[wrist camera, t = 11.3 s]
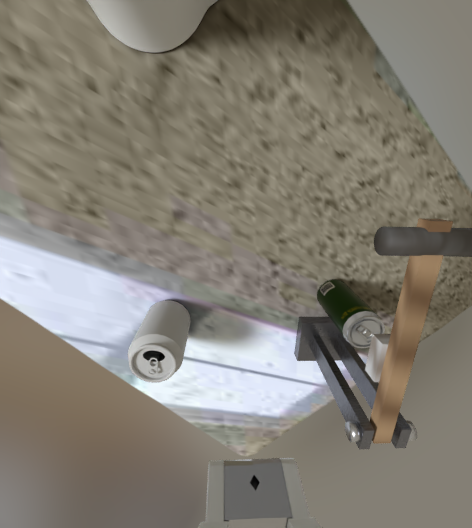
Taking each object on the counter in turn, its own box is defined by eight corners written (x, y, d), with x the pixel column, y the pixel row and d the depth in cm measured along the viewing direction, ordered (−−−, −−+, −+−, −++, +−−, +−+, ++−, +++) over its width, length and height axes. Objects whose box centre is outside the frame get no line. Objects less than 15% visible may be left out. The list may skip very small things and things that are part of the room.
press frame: (299, 316, 47) (349, 414, 28) (353, 316, 48) (437, 412, 29) (294, 353, 50) (337, 464, 31) (345, 352, 50) (417, 461, 32)
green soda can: (309, 295, 46) (337, 337, 34) (330, 272, 44) (366, 307, 33) (331, 310, 47) (365, 356, 36) (352, 288, 46) (394, 328, 34)
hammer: (370, 214, 26) (396, 221, 22) (457, 216, 26) (497, 223, 22) (332, 418, 34) (346, 448, 30) (399, 416, 34) (422, 446, 30)
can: (192, 299, 45) (182, 344, 34) (189, 336, 47) (179, 389, 36) (148, 295, 44) (122, 339, 33) (147, 333, 47) (123, 385, 35)
